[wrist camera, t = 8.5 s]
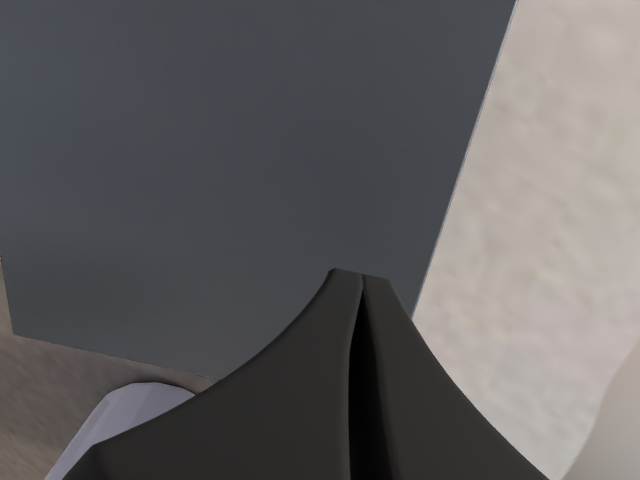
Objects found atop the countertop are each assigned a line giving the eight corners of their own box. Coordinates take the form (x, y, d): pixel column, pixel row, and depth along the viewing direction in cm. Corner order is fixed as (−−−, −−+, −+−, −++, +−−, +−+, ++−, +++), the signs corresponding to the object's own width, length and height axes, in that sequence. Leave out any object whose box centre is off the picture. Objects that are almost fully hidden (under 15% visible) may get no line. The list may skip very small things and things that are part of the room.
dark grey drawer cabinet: (138, -136, 16) (-87, -268, 8) (475, -70, 16) (566, -143, 8) (139, 221, 22) (12, 335, 14) (380, 272, 22) (380, 415, 14)
